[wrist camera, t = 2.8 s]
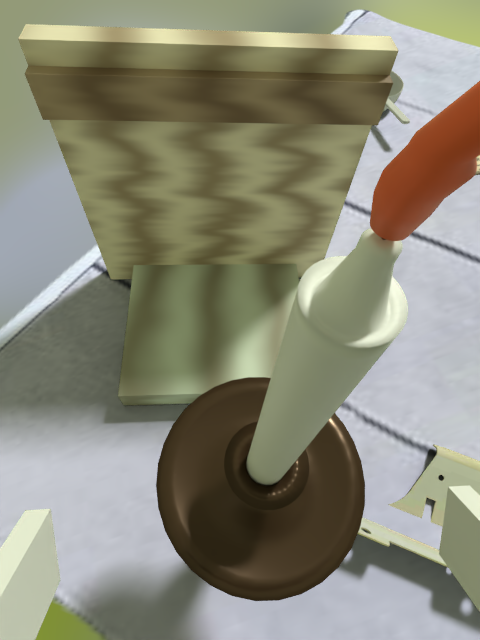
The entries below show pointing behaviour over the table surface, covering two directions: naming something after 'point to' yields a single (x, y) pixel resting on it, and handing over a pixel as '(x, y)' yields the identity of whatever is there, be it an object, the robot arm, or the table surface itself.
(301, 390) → the candlestick
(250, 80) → the pale wooden blocky structure
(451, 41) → the table surface
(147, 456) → the table surface
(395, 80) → the small pan
